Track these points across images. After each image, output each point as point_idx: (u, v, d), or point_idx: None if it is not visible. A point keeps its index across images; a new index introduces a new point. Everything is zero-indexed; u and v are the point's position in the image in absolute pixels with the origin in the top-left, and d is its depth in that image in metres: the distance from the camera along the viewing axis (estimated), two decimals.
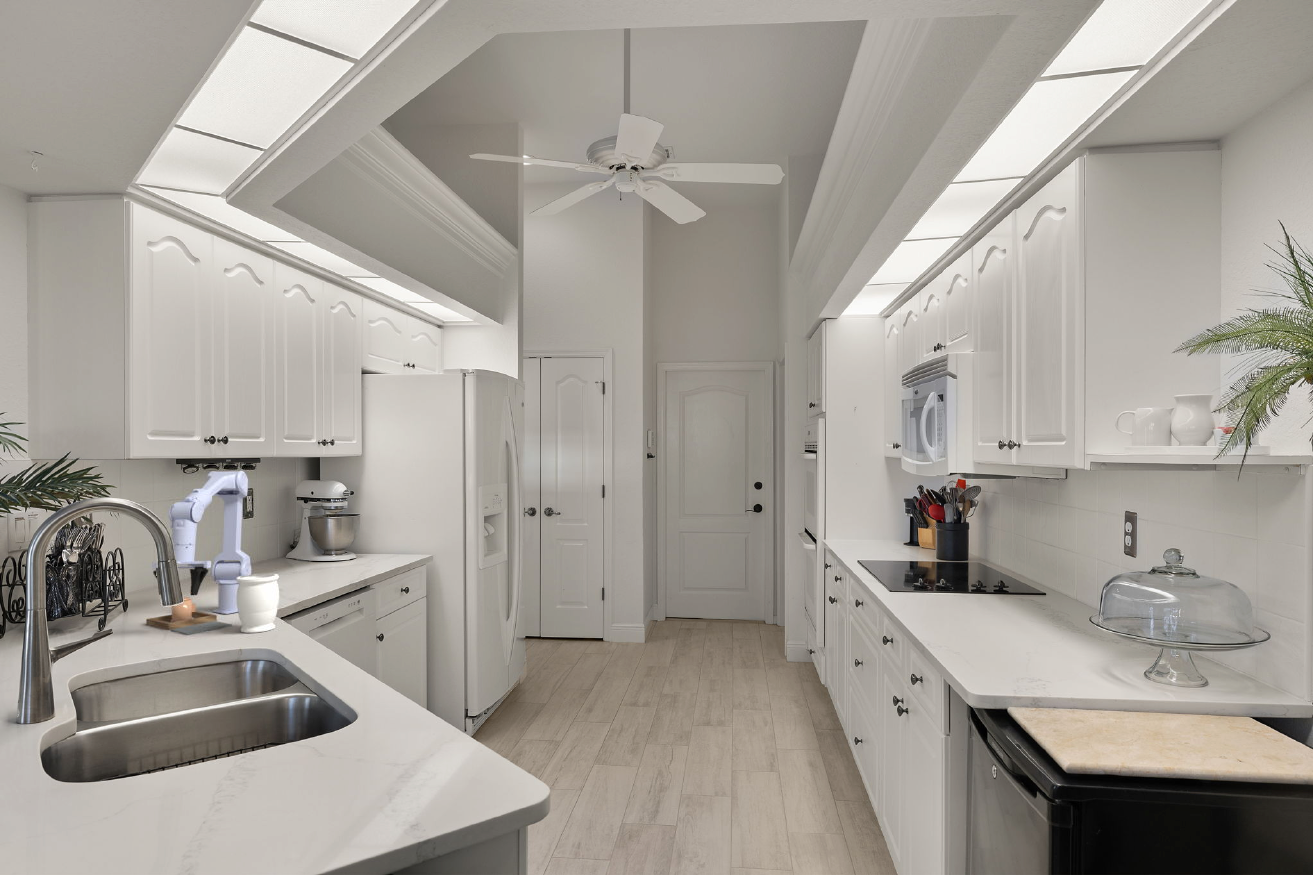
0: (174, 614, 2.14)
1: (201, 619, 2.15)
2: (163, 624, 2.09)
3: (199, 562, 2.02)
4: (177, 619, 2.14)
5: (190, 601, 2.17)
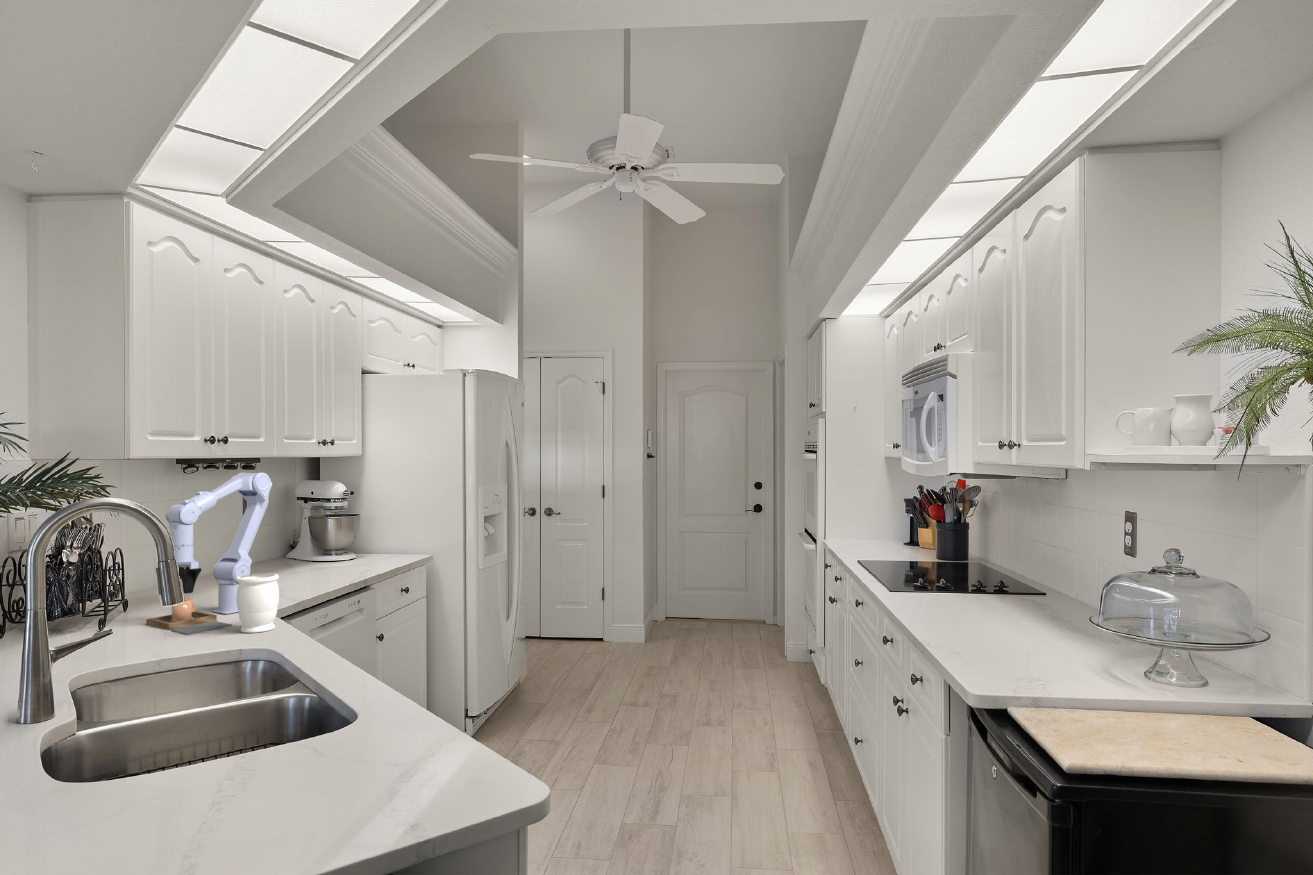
0: (174, 614, 2.14)
1: (201, 619, 2.15)
2: (163, 624, 2.09)
3: (186, 563, 2.13)
4: (177, 619, 2.14)
5: (190, 601, 2.17)
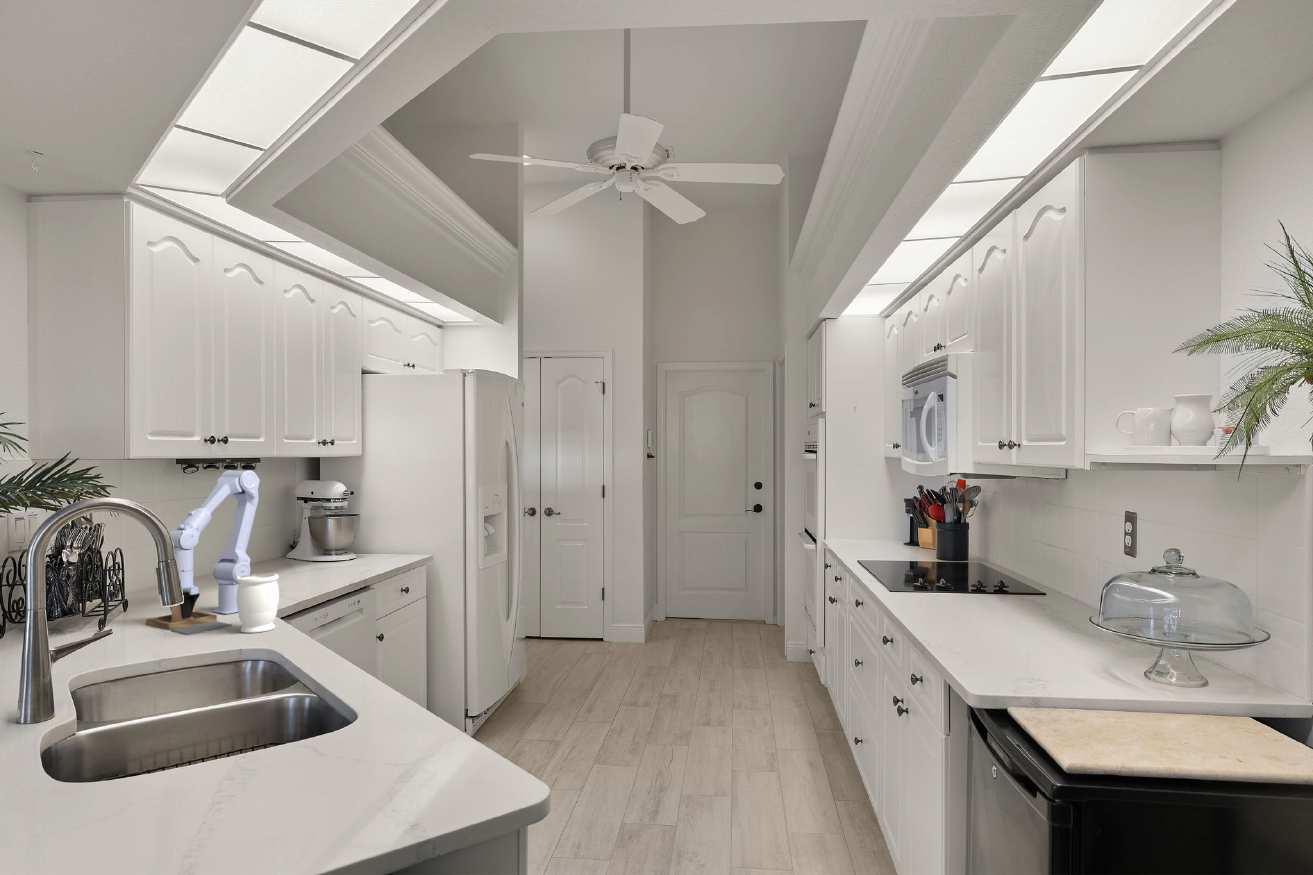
0: (174, 614, 2.14)
1: (201, 619, 2.15)
2: (163, 624, 2.09)
3: (186, 589, 2.13)
4: (177, 619, 2.14)
5: None
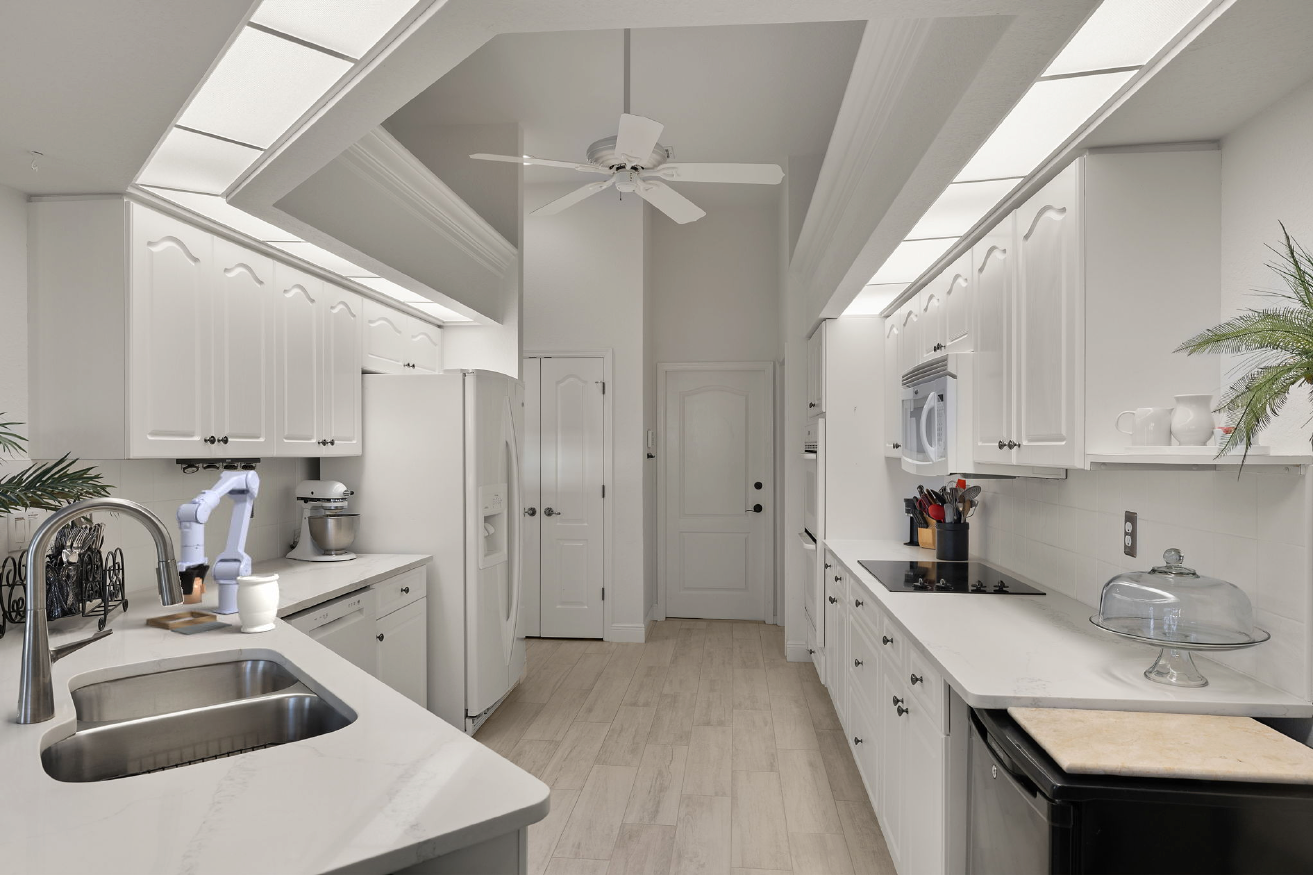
0: None
1: (201, 619, 2.15)
2: (163, 624, 2.09)
3: (178, 564, 2.07)
4: None
5: None
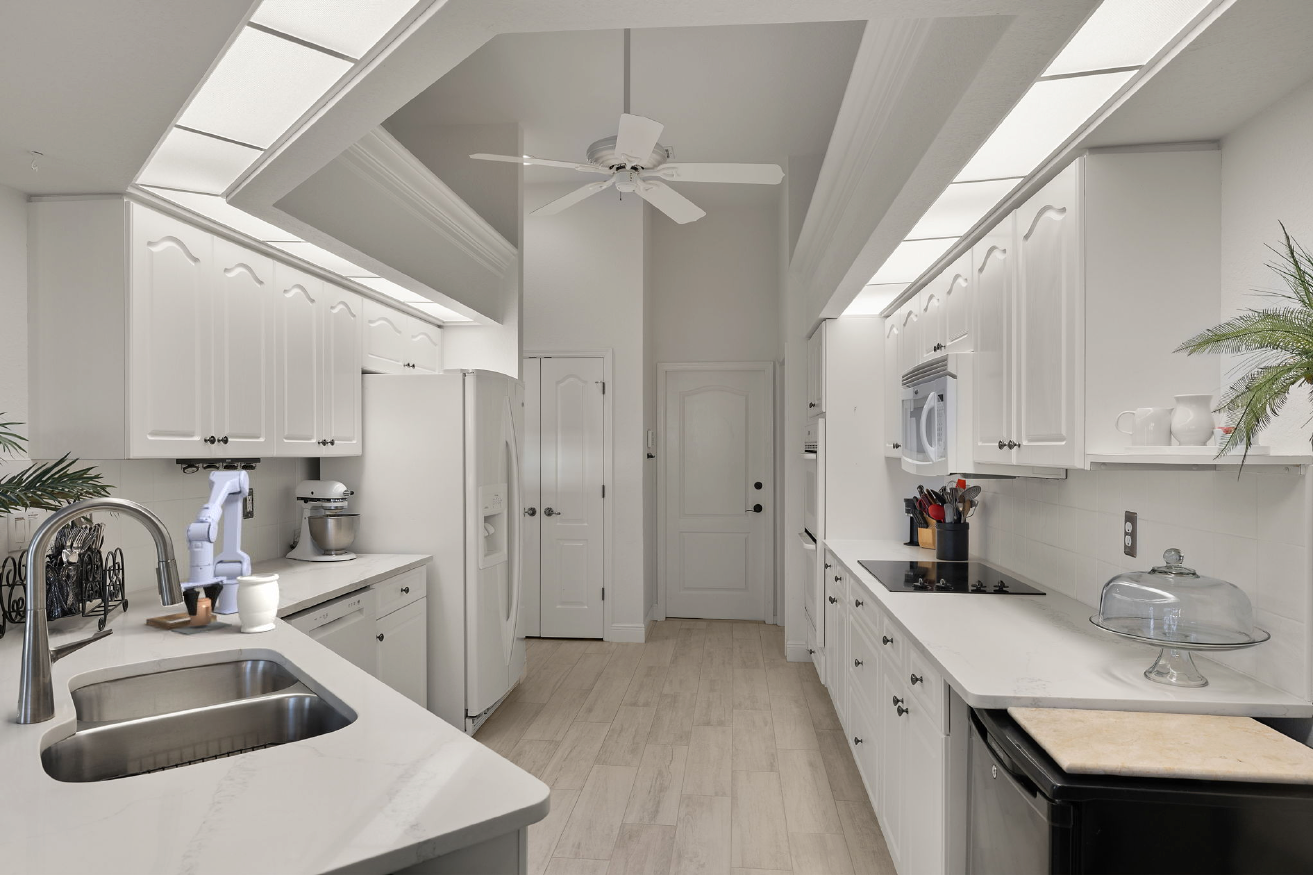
0: None
1: None
2: (163, 624, 2.09)
3: None
4: None
5: (197, 603, 2.07)
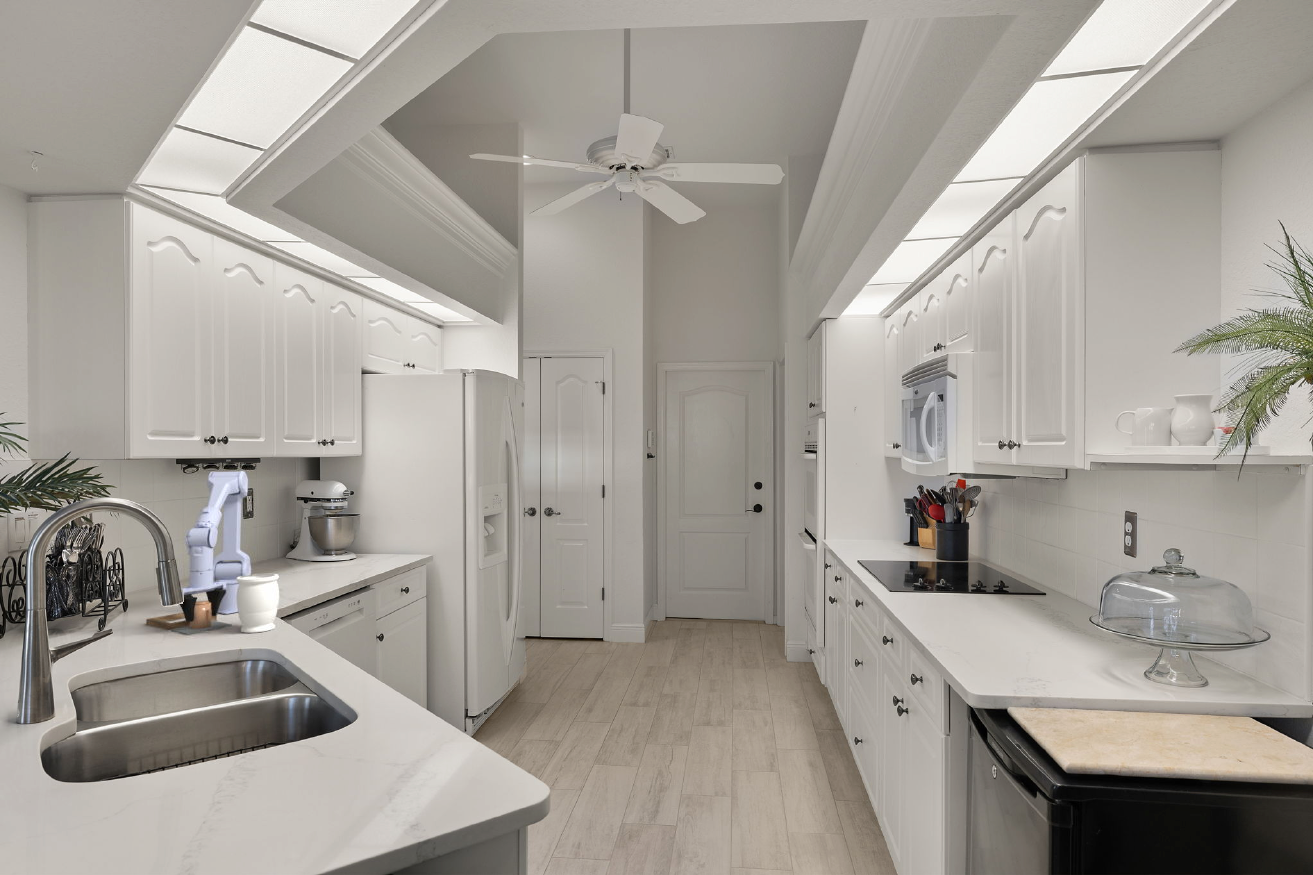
0: None
1: None
2: (163, 624, 2.09)
3: None
4: None
5: (198, 606, 2.07)
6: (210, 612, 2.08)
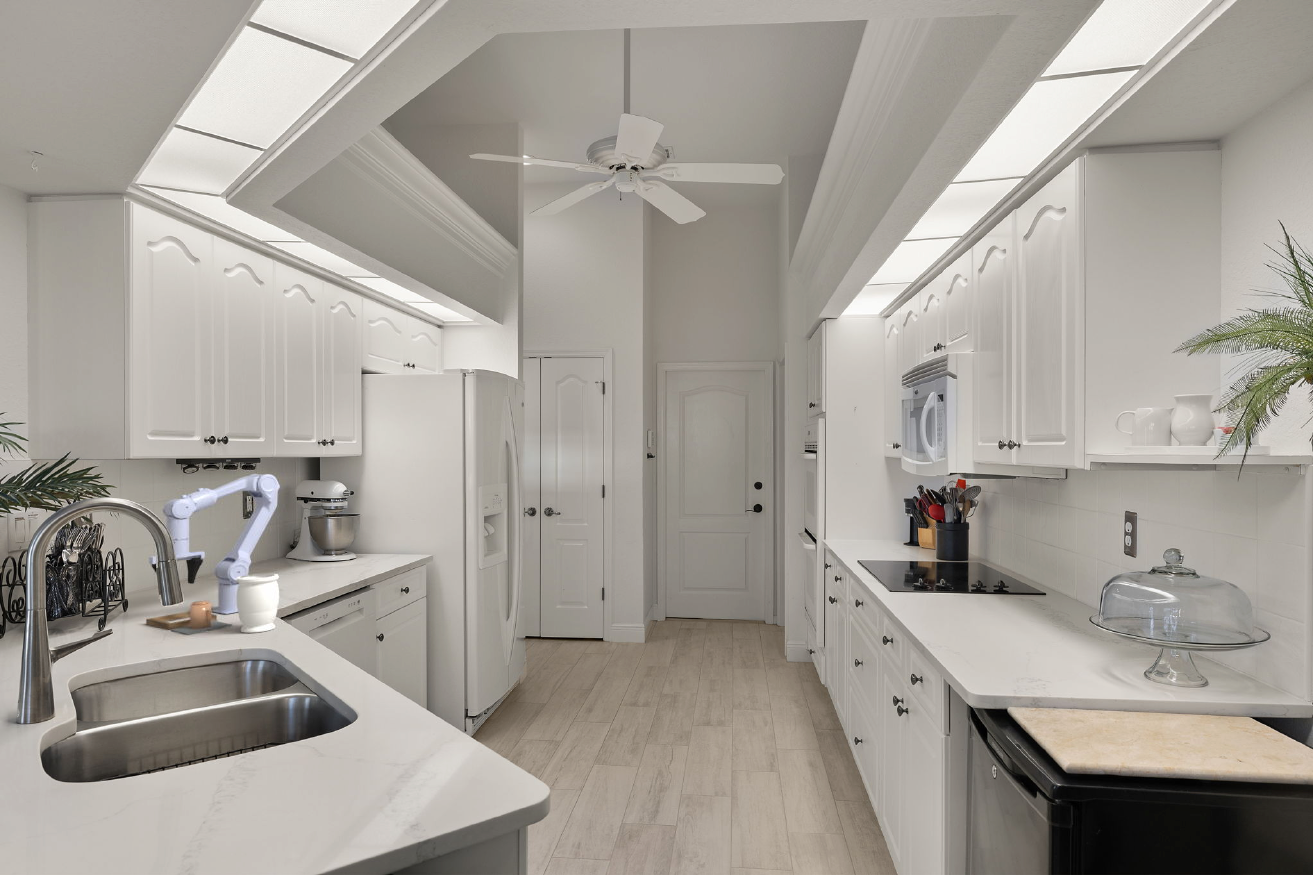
0: None
1: None
2: (163, 624, 2.09)
3: None
4: None
5: (198, 606, 2.07)
6: (210, 612, 2.08)
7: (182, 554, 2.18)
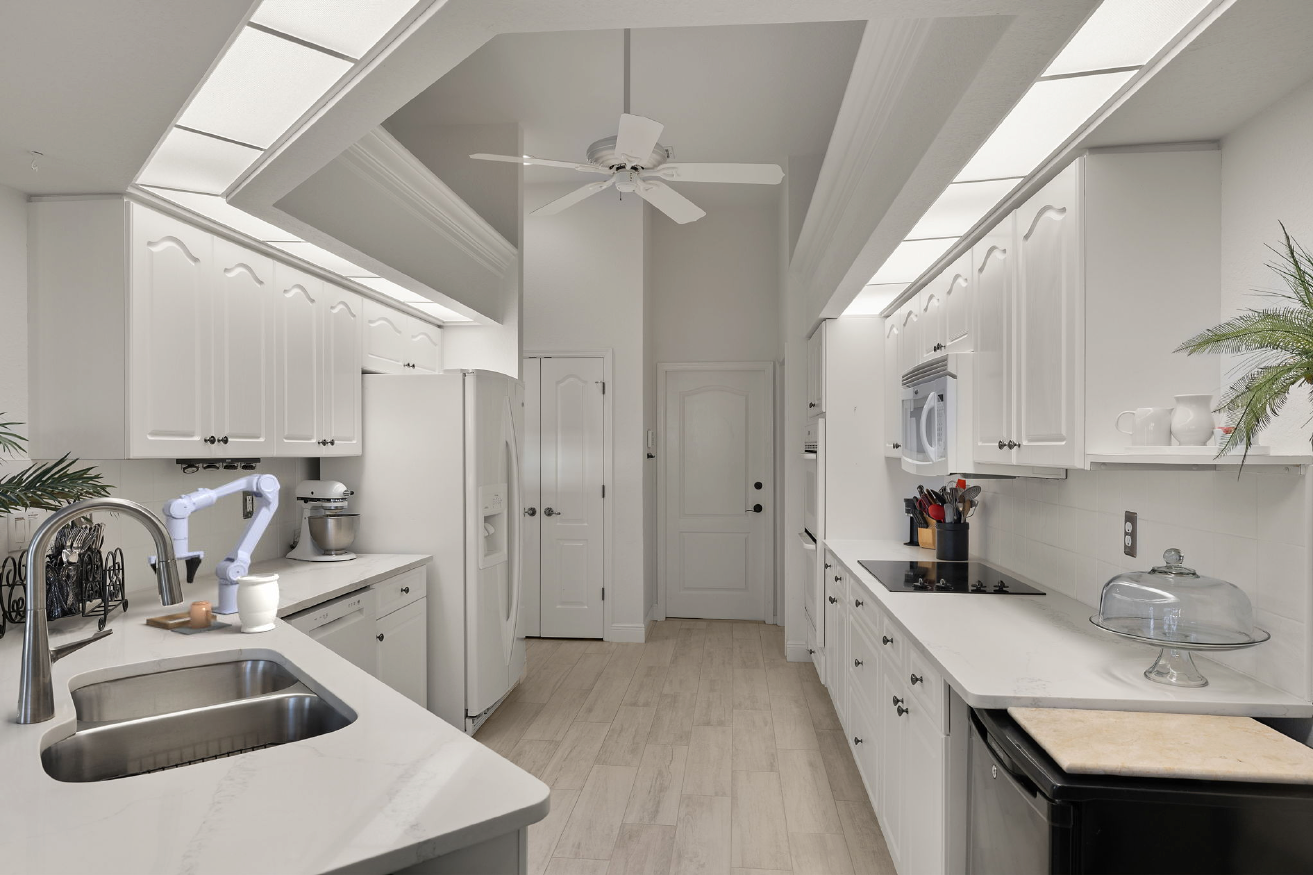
0: None
1: None
2: (163, 624, 2.09)
3: None
4: None
5: (198, 606, 2.07)
6: (210, 612, 2.08)
7: (181, 554, 2.19)
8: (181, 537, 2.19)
